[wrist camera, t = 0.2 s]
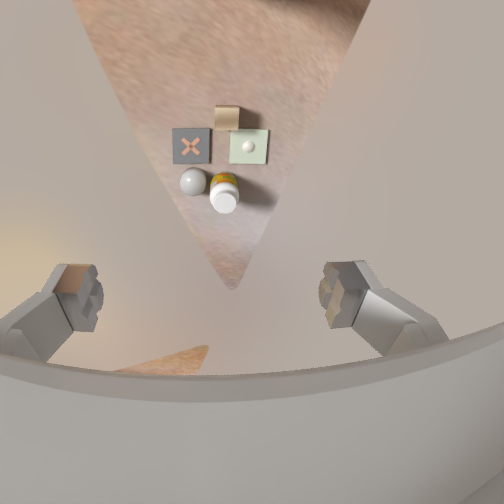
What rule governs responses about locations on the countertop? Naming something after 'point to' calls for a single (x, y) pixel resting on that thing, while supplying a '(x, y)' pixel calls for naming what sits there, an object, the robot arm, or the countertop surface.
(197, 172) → the light grey dome
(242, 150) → the pad
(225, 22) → the countertop surface
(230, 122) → the block
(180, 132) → the pad
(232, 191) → the supplement bottle
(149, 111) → the countertop surface
